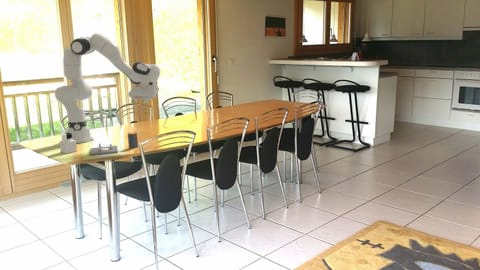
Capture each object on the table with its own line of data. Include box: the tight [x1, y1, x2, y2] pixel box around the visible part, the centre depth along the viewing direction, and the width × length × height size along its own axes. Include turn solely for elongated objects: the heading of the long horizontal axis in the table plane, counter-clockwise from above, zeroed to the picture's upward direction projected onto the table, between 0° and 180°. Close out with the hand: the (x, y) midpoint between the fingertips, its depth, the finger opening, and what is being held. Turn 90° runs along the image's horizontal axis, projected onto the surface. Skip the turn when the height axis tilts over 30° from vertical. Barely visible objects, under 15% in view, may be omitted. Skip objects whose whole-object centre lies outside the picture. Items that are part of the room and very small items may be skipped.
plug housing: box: [127, 131, 139, 149], centre depth 271 cm, size 4×4×10 cm
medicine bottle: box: [58, 132, 78, 155], centre depth 265 cm, size 7×7×12 cm
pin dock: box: [89, 143, 119, 156], centre depth 265 cm, size 16×16×4 cm
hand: (137, 102), depth 273 cm, fingers open, 8 cm apart
